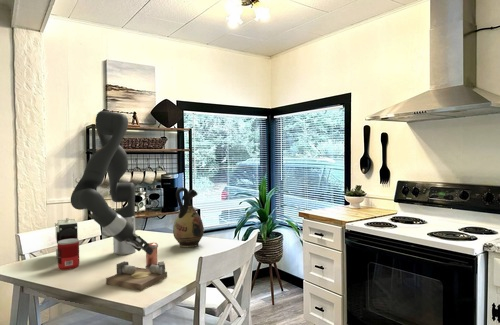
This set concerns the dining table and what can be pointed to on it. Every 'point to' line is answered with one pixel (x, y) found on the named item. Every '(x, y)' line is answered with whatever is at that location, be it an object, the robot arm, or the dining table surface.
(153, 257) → the sleeve
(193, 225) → the ceramic jug
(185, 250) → the dining table surface
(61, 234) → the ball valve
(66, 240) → the canned food
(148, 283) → the shaft bench
